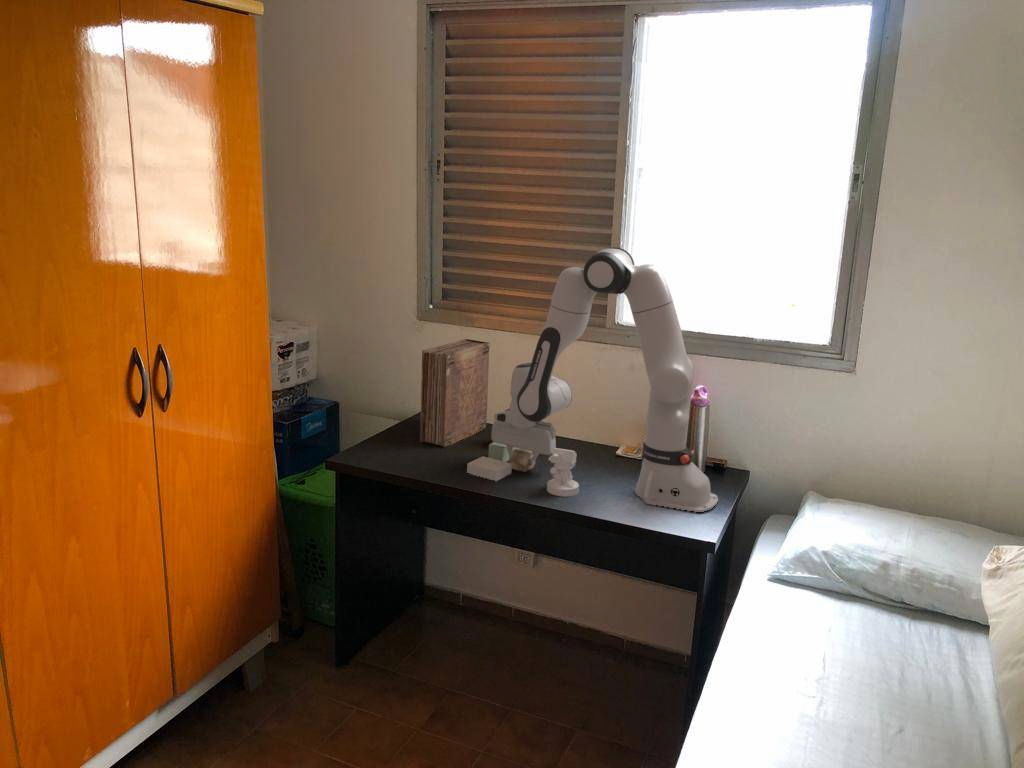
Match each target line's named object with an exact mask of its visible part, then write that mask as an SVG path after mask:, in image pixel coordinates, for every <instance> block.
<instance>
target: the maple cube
mask: <svg viewBox="0 0 1024 768" xmlns="http://www.w3.org/2000/svg"><path fill="white" fill-rule="evenodd" d="M532 457H533V455H532V451H528V450H524V449H520V448H518V449H515V450H513V451H512V452H511V460H510V463H512V470H515V471H519V472H524V473H526V472H528V471H529V470H531V469H533V468H534V466H535V465H533V466H531V465H528V459H530V458H532Z"/></svg>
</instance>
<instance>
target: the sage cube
mask: <svg viewBox="0 0 1024 768" xmlns="http://www.w3.org/2000/svg"><path fill="white" fill-rule="evenodd" d="M487 457H488V458H492V459H496V460H500V461H504V462H508V461H509V462H510V460H509V453H508V451H507V449H506V445H503V444H499V443H494V442H493V441H492V442H491V443H489V444H488V456H487Z"/></svg>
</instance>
